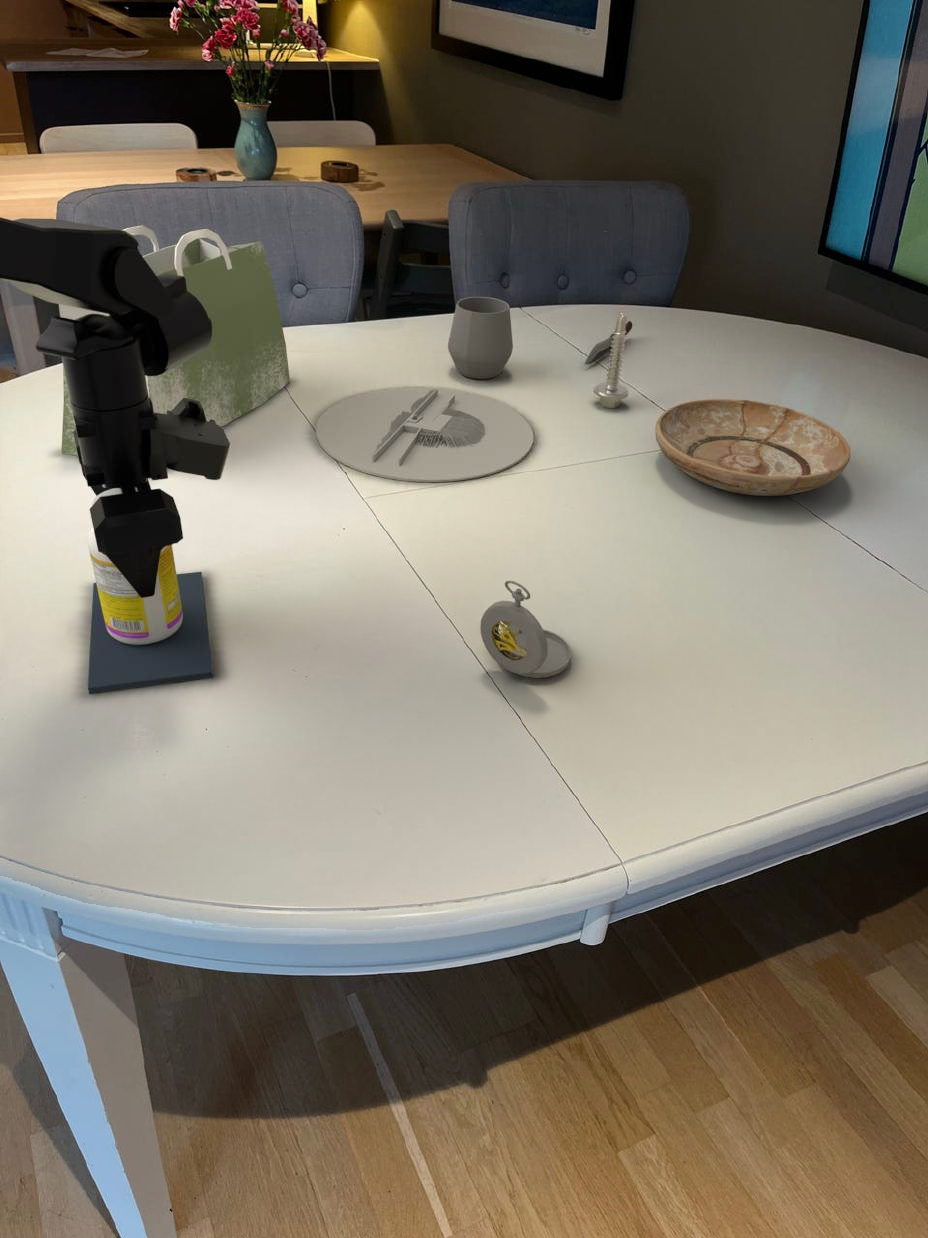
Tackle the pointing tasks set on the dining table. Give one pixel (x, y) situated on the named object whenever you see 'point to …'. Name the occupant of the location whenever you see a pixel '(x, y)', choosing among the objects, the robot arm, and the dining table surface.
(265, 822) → the dining table surface
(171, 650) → the placemat
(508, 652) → the pocket watch
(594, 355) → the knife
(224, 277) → the grocery bag
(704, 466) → the ceramic bowl
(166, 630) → the supplement bottle
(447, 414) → the plate
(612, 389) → the screw
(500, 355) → the cup
